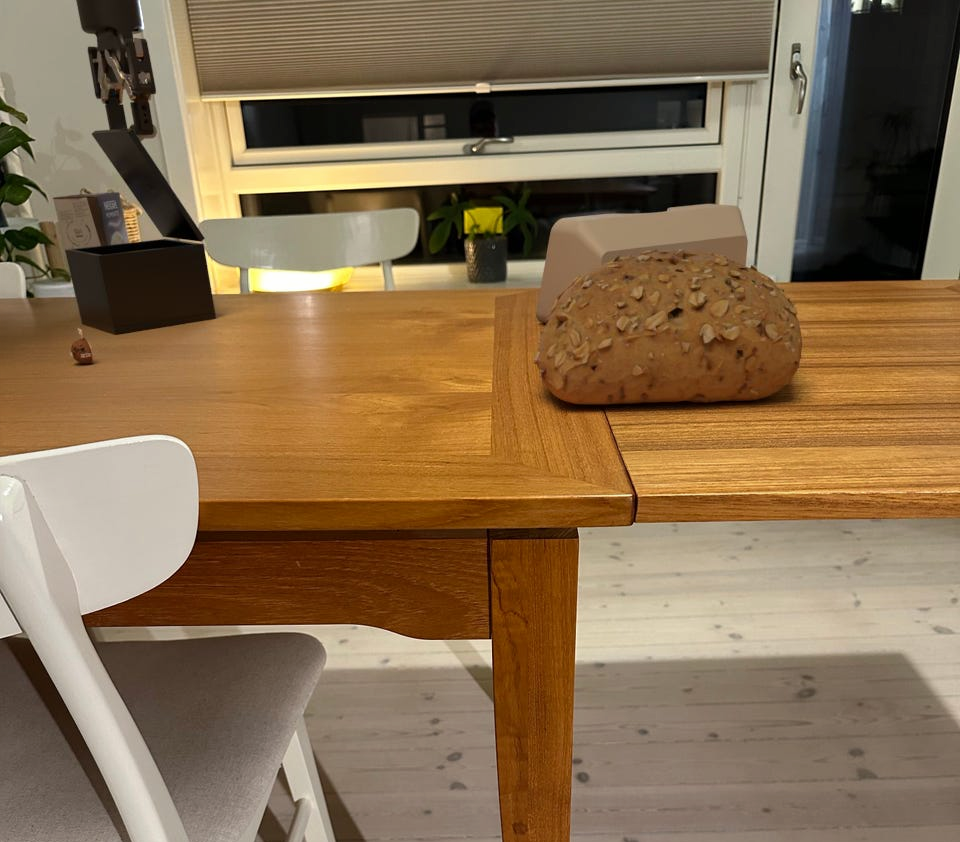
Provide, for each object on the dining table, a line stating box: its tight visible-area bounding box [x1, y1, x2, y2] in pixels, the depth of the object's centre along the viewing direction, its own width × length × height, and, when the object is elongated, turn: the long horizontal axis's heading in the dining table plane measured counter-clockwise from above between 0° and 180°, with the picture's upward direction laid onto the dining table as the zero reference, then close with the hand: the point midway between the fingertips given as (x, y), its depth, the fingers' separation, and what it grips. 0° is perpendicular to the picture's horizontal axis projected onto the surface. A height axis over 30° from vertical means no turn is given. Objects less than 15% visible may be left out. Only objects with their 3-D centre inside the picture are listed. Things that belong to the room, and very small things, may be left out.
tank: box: [535, 203, 749, 324], centre depth 117 cm, size 25×16×12 cm, turn 119°
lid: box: [91, 123, 206, 243], centre depth 129 cm, size 15×13×5 cm
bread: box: [532, 249, 803, 406], centre depth 89 cm, size 24×21×12 cm
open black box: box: [64, 238, 217, 335], centre depth 133 cm, size 15×13×10 cm
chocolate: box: [69, 328, 94, 365], centre depth 110 cm, size 3×2×4 cm
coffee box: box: [52, 191, 130, 315], centre depth 141 cm, size 9×6×16 cm
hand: (132, 135), depth 126 cm, fingers open, 8 cm apart
